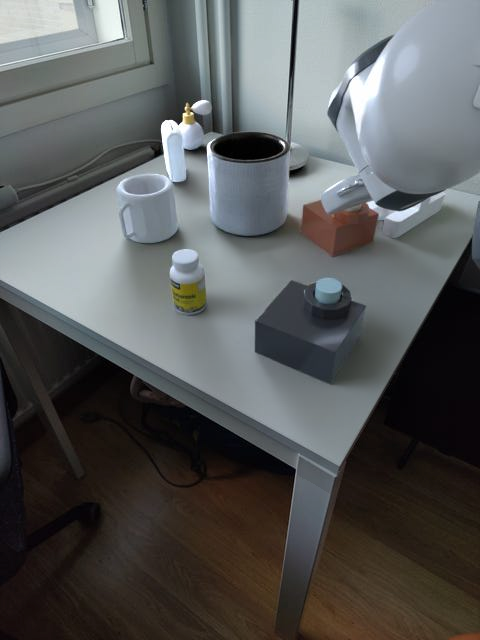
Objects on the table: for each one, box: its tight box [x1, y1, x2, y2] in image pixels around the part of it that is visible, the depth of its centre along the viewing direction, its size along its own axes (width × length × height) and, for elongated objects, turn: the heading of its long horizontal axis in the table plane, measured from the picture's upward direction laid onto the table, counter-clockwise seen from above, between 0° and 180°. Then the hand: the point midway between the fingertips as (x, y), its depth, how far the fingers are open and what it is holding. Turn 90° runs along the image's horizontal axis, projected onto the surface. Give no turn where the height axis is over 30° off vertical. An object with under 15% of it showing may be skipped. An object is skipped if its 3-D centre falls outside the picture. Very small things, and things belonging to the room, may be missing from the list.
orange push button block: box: [300, 199, 379, 258], centre depth 88 cm, size 11×10×8 cm
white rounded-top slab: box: [160, 119, 187, 183], centre depth 111 cm, size 10×4×12 cm, turn 15°
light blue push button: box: [315, 277, 343, 304], centre depth 64 cm, size 4×4×2 cm
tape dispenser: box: [367, 191, 446, 239], centre depth 94 cm, size 10×18×11 cm, turn 132°
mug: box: [116, 173, 179, 244], centre depth 90 cm, size 14×11×10 cm
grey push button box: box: [254, 279, 367, 385], centre depth 66 cm, size 12×12×8 cm
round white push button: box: [345, 205, 361, 212], centre depth 84 cm, size 3×3×2 cm
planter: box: [206, 130, 291, 237], centre depth 92 cm, size 16×16×16 cm
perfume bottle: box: [178, 99, 213, 151], centre depth 124 cm, size 8×10×12 cm
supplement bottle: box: [169, 248, 208, 316], centre depth 73 cm, size 5×5×10 cm
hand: (351, 201), depth 83 cm, fingers closed, pressing on round white push button
